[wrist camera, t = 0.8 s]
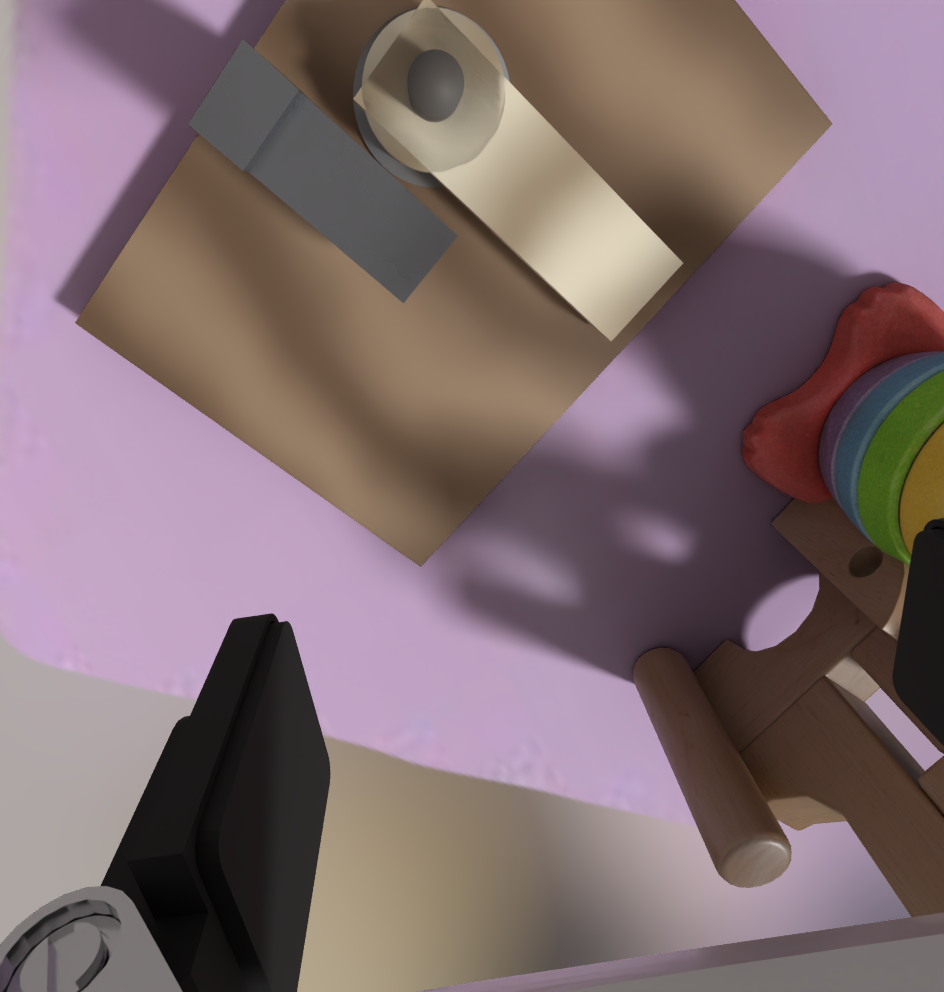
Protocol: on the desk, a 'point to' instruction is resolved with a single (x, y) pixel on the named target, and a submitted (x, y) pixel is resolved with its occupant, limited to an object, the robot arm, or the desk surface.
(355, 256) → the keeper
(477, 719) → the desk surface
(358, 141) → the base board
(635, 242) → the link
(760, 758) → the wooden toy
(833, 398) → the stacking bear
